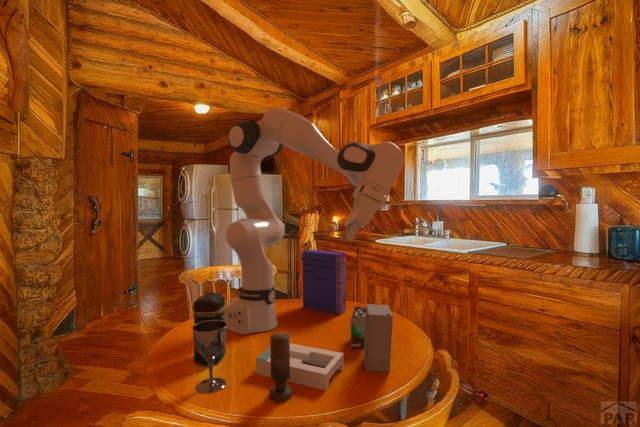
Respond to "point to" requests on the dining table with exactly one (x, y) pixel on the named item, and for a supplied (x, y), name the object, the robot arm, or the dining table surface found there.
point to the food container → (358, 327)
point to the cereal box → (324, 281)
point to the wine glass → (210, 350)
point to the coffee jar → (208, 318)
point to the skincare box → (377, 338)
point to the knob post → (280, 367)
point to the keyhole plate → (304, 372)
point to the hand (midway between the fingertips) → (346, 240)
